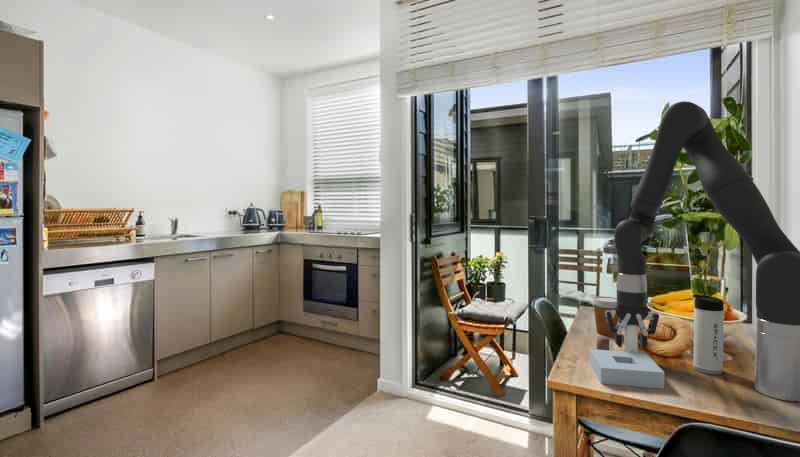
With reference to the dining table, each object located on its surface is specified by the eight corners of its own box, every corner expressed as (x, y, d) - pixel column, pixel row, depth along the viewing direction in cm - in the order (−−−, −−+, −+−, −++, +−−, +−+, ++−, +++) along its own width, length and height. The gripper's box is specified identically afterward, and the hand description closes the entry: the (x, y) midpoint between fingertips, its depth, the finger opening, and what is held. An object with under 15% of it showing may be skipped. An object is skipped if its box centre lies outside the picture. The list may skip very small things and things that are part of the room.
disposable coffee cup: (623, 331, 146) (623, 297, 145) (621, 339, 138) (622, 303, 137) (593, 327, 151) (593, 295, 150) (590, 335, 142) (590, 300, 142)
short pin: (607, 353, 125) (607, 336, 124) (610, 357, 121) (610, 340, 121) (595, 352, 125) (595, 336, 125) (597, 356, 122) (598, 339, 122)
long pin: (635, 357, 121) (636, 323, 120) (639, 361, 118) (639, 326, 117) (622, 356, 122) (623, 322, 121) (626, 360, 118) (626, 325, 118)
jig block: (645, 367, 113) (645, 352, 113) (664, 388, 100) (664, 372, 100) (589, 363, 117) (590, 349, 117) (600, 383, 103) (601, 367, 103)
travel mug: (694, 363, 115) (695, 292, 114) (724, 370, 110) (726, 295, 110) (689, 370, 111) (690, 296, 110) (720, 377, 106) (722, 299, 105)
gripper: (607, 290, 117) (606, 349, 118) (664, 292, 113) (663, 353, 114) (601, 285, 124) (600, 341, 125) (655, 287, 121) (654, 344, 121)
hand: (630, 346), depth 120 cm, fingers open, 5 cm apart
